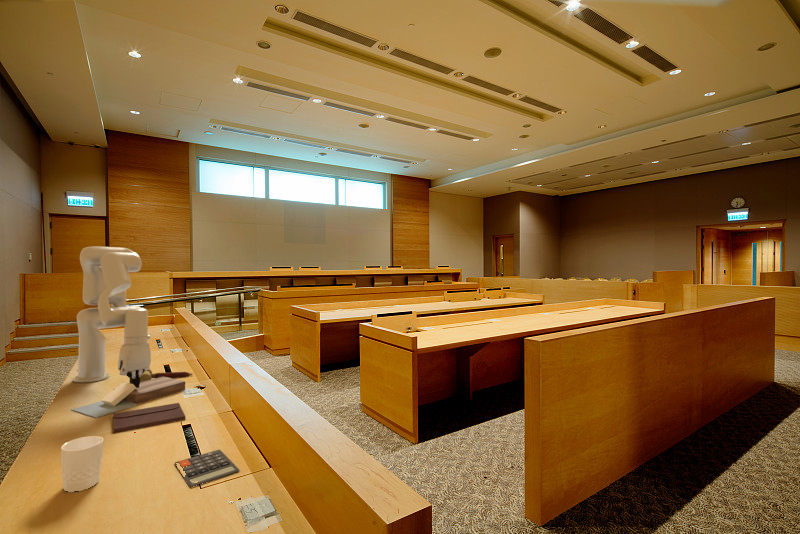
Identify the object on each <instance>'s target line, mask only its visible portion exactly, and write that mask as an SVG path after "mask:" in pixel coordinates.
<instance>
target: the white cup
mask: <svg viewBox="0 0 800 534" xmlns="http://www.w3.org/2000/svg"><path fill="white" fill-rule="evenodd" d="M60 452H61V454H60V455H61V456H60V457H61V459H60V460H61V477H62V490H63V489H64V490H65V491H68V492H67V493H75V492H74V491H79V492H82V491H81V490H83V491H85V490H84V489H86V490H89V489H91V488H92V487H91V486H93V487H94V485H95V484H96V483H97V482H98V483H99V482H100V480H101V479H100V478H101V470H102V460H103V452H104V438H103V437H102V436H100V435H99V436H98V435H90V436H89V435H88V436H82V437H78V438H75V439H72V440H69V441H67V442H65V443H64V444H62V445H61V447H60ZM98 483H97V484H98ZM97 484H96V485H97ZM96 485H95V486H96ZM90 487H91V488H90ZM88 488H89V489H88ZM64 490H63V491H64ZM65 491H64V492H65Z"/></svg>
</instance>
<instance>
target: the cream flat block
mask: <svg viewBox="0 0 800 534" xmlns="http://www.w3.org/2000/svg"><path fill="white" fill-rule="evenodd" d="M113 389H114V390H113ZM113 389H112V391H110V392H109V393H108V394H107V395H106V396H104V397H103V398H101V401H102V402H103V403H104V404H107V405H111V406H115V405H116V404H118V403H119V402H120V401H121V400H122V399H124V398H125V397H126V396H127V395H128V394H130V393H131V392H132V391H133V390H134V389H136V387H135V386H134V384H130V382H129V383H128V382H126V381H123V382H122V383H121V384H119V385H117V387H115V388H113Z"/></svg>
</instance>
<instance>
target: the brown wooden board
mask: <svg viewBox="0 0 800 534" xmlns="http://www.w3.org/2000/svg"><path fill="white" fill-rule="evenodd" d="M114 389H115V388H113V389H112V391H113V390H114ZM185 390H186V381H185V380H181V379H176V378H168V377H159V378H152V379H151V380H148V381H144V382H140V385H139V388H136V389H134V390H133V391H132V392H131V393H130V394H128V395H127V396H126V397H125V398H124V399H122V400H124V401H128V402H131V403H135V404H138V405H139V404H141V403H145V402H149V401H153V400H155V399H159V398H162V397H165V396H170V395H172V394H176V393H178V392H183V391H185Z"/></svg>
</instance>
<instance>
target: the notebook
mask: <svg viewBox="0 0 800 534" xmlns="http://www.w3.org/2000/svg"><path fill="white" fill-rule="evenodd" d="M180 420H181V421H185V420H186V415H185V413H184V410H183V409H182V407H181V404H180V403H179V402H176V403H175V402H174V403H170V404H164V405H156V406H151V407H146V408H145V407H144V408H139V409H134V410H133V409H132V410H126V411H121V412H120V411H119V412H114V413H112V423H113V425H112V426H113V434H116V433H117V432H118V433H122V432H127V431H133V430H139V429H143V428H149V427H153V426H159V425H163V424H165V425H166V424H169V423H176V422H180ZM175 421H176V422H175Z"/></svg>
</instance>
